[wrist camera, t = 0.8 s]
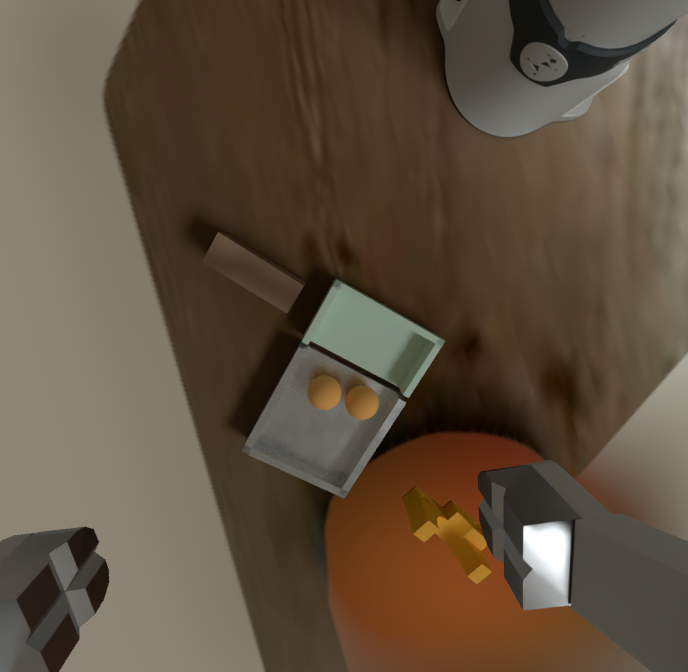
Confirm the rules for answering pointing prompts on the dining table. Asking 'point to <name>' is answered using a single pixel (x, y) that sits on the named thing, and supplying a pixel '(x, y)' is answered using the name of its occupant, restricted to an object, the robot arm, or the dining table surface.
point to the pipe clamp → (449, 530)
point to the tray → (373, 336)
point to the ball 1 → (324, 392)
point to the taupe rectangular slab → (253, 271)
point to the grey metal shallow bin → (320, 423)
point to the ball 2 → (361, 402)
